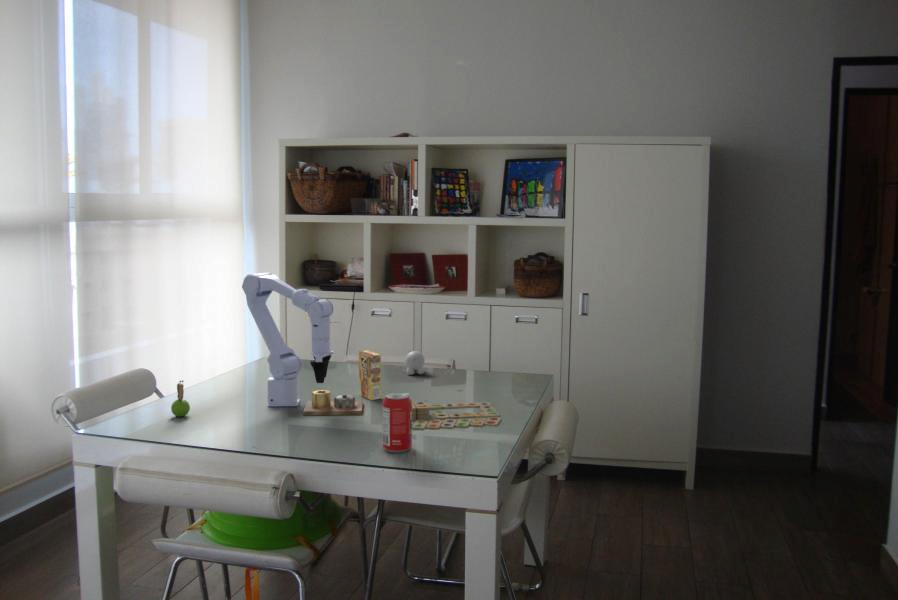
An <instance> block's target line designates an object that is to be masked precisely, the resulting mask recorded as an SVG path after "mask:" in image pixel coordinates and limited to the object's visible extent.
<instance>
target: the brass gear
mask: <svg viewBox="0 0 898 600" xmlns="http://www.w3.org/2000/svg"><path fill="white" fill-rule="evenodd" d="M331 393H332V392H331V391H330V390H328V389H326V390H325V389H319V390H313V391H312V392H311V401H312V406H313V407H314V408H325V407H326V408H327V407H329V406H331V401H332V398H331V397H332V395H331Z"/></svg>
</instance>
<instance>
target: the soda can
mask: <svg viewBox="0 0 898 600" xmlns="http://www.w3.org/2000/svg"><path fill="white" fill-rule="evenodd" d="M412 402H413V401H412V399H411V397H410V394H409V393H407V392H390V393H386V394H385V395H384V399H383V400H382V403H381V404H382V406H381V407H382V408H381V409H382V411H381V413H382V448H383V449H384V450H385V451H387V452H389V453H393V454H394V453H395V454H396V453H397V454H398V453H405V452H407V451H408V450H409V451H410V449H411V448H412V446H413V436H412V435H413V430H412V422H413V421H412Z"/></svg>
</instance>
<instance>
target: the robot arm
mask: <svg viewBox="0 0 898 600" xmlns="http://www.w3.org/2000/svg"><path fill="white" fill-rule="evenodd" d="M241 288H242V290H243V292H244V295H245V297H246V304H247V305H246V306H247V307H248V309H249V311H250V313H251V315H252V318H253V320H254V322H255V324H256V326H257V328H258V330H259V332H260V334H261V337H262V339H263V341H264V343H265V345H266V347H267V349H268V351H269V355H268V357H267V363H268V365H269V366H268V367H269V373H270V374H271V375H272V377H271V376H270V377H268V378H267V407H298V405H299V404H300V402H301V399H300V398H298V376H299V373H300V371H301V370H302V368H303V367H302V365H303V363H302V360H301V358H300V357H299V356H298V355H297V354H296V353H295V351H294V350H293V349H292V348H290V347H289V346H287V345H286V343H285V341H284V339H283V337H282V334H281V332H280V331H279V329H278V326H277V324H276V322H275V320H274V318H273V316H272V315H271V314H272V313H271V312H270V310H269V308H268V305H267V301H268V299H269V298H270V296H271V294H272V293H273V292H275V293H277V294H279V295H282V296H284V297H286V298H288V299H290V300H291V303H292V304H293V306H296V307H297V308H298V309H301V310H302V311H304V312H306V313H307V315H308V317H309V318H310V319H309V320H310V324H311V351H310V352H311V353H310V354H311V356H312V357H313V360H310V365H311V368H312V369H313V373H314V377H315V382H316V384H324V381H325V379H326V378H327V373H328V368H329V363H330V360H331V357H332V355H334V354H335V351H334V350H331V318H330V317H331V316H332V315H333V313H334V306H333V303H332V302H331V301H330V300H329V299H328V298H322V299H321V298H320V296H318V295H314V294H312V293H310V292H309V289H307V288H299V289H295V288H294V287H293V286H292V285H289V283H286V282H285V281H283V280H282V279H280V278H279V277H278V275H277V274H273V273H272V272H269V271H265V272H262V273H254V274H253V273H250V274H247V275H246V276H245V277H244V278H243V282H242V285H241Z"/></svg>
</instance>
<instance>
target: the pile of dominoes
mask: <svg viewBox="0 0 898 600" xmlns="http://www.w3.org/2000/svg"><path fill="white" fill-rule="evenodd" d="M466 408H467V409H471V408H472V409H473V408H474V409H476V408H479V409H480V410H481V411H482V412H473V413H471V412H465V413H463V412H461V413H449V414H447V412H446V411H445V410H448V409H466ZM429 409H430V410H434V411H432V416H433V417H434V418H435V417H436V418H435V419H430V416H431V415H430V410H429ZM442 409H443V410H442ZM444 409H445V410H444ZM429 419H430V420H429ZM438 419H441V420H438ZM457 419H458V420H457ZM412 420H413V421H412V429H413V430H412V431H424V429H425V430H426V429H427V430H439V429H440V428H441V429H450V430H452V429H454V428H459V429H460V428H462V429H468V428H469V427H475V428H476V427H477V428H481V427H482V428H483V427H484V426H488V427H497V426H498V425H499V424H500V423H501V421H502V418H501V417H500V414H499V412H497V410H496V409H495V408H494V407H493V405H492V404H491V403H490V402H489V401H488V402H487V401H484V402H481V401H480V402H466V403H465V402H464V403H463V402H462V403H460V402H459V403H442V404H441V403H436V404H434V403H433V404H431V403H430V404H427V402H426V401H414V402H413V401H412ZM414 420H415V421H414Z"/></svg>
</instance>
